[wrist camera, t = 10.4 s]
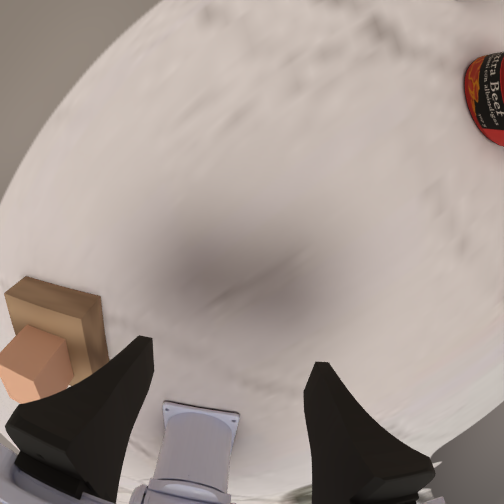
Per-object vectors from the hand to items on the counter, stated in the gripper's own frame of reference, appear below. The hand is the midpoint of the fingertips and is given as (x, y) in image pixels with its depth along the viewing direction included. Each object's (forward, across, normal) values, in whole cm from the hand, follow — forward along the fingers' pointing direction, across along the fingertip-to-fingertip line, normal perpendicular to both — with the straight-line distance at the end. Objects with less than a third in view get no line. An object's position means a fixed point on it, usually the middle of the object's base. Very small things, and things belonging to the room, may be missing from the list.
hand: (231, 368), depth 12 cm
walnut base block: (+10, +16, +9) cm, 21 cm away
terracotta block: (+6, +16, +9) cm, 20 cm away
